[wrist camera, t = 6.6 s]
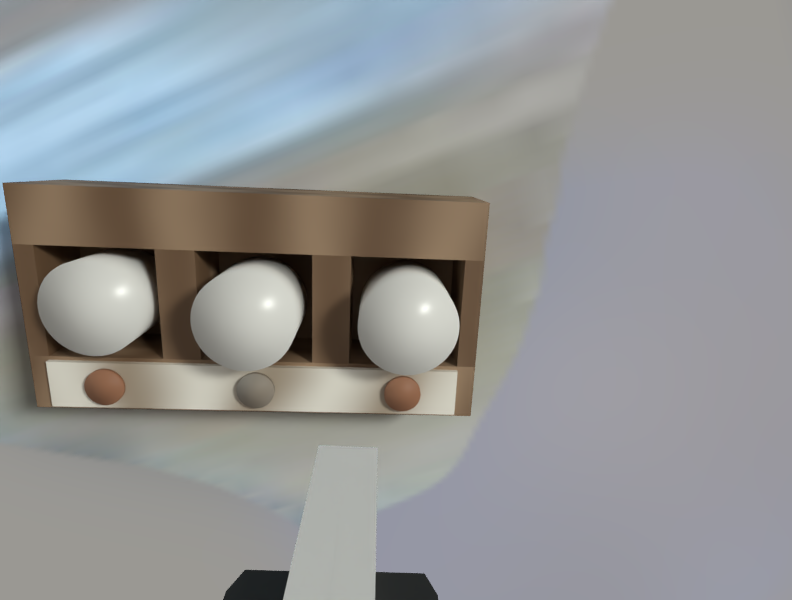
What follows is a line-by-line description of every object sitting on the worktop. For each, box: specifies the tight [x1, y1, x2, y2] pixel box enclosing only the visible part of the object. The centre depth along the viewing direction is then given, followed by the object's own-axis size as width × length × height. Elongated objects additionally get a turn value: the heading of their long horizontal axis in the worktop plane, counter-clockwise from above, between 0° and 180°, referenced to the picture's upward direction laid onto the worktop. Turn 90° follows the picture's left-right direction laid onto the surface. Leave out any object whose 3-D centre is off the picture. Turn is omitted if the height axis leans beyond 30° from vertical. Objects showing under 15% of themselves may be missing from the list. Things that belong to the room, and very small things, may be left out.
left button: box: [37, 248, 160, 356], centre depth 27 cm, size 5×5×4 cm
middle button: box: [190, 256, 307, 371], centre depth 26 cm, size 5×5×4 cm
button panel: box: [3, 180, 490, 416], centre depth 29 cm, size 24×12×6 cm, turn 88°
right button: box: [358, 261, 459, 375], centre depth 27 cm, size 5×5×4 cm
